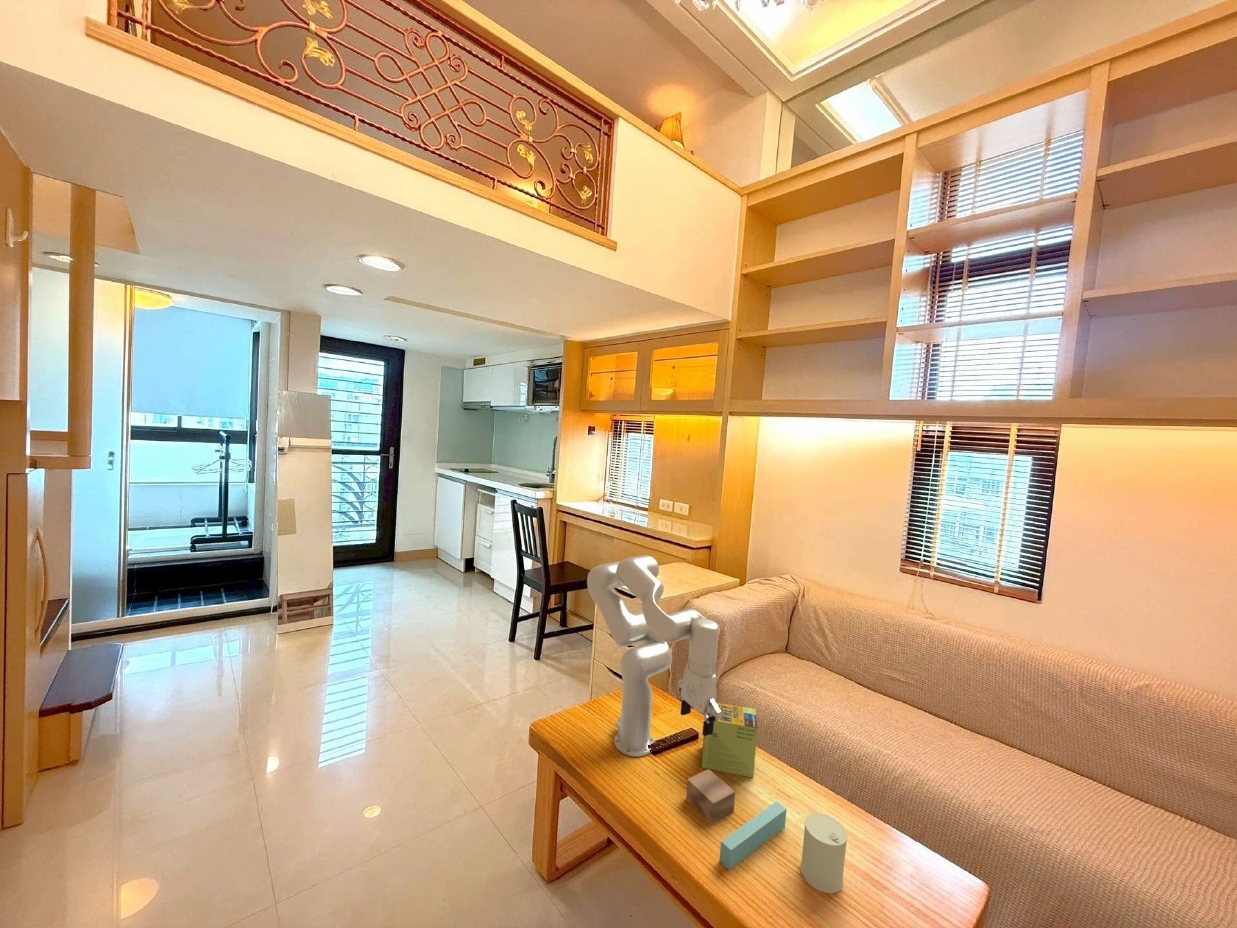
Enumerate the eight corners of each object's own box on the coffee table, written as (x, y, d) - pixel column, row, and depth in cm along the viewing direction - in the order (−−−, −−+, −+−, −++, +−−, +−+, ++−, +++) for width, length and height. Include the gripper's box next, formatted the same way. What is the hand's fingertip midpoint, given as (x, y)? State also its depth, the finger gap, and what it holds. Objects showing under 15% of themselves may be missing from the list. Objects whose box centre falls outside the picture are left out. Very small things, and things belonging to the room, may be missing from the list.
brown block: (686, 799, 135) (687, 778, 135) (707, 788, 140) (708, 768, 139) (712, 825, 127) (713, 803, 127) (733, 812, 132) (735, 791, 131)
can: (821, 899, 108) (826, 848, 107) (791, 864, 117) (796, 816, 116) (852, 885, 112) (857, 836, 111) (820, 852, 120) (825, 806, 119)
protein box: (754, 778, 145) (758, 728, 144) (701, 768, 148) (704, 718, 147) (751, 755, 155) (755, 708, 154) (702, 746, 158) (705, 700, 157)
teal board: (719, 860, 116) (720, 840, 116) (775, 819, 130) (776, 801, 129) (729, 870, 114) (731, 850, 114) (784, 826, 127) (786, 808, 127)
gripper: (672, 653, 141) (667, 709, 142) (711, 684, 126) (705, 746, 128) (692, 648, 144) (687, 703, 146) (733, 678, 129) (727, 739, 131)
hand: (696, 723), depth 137 cm, fingers open, 9 cm apart
